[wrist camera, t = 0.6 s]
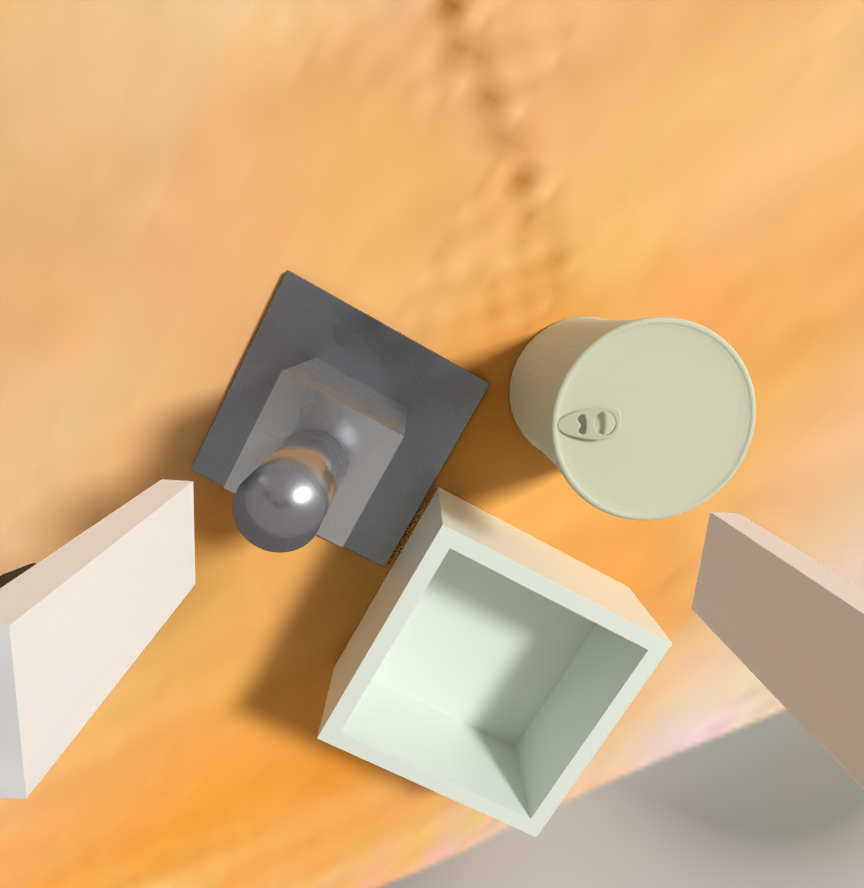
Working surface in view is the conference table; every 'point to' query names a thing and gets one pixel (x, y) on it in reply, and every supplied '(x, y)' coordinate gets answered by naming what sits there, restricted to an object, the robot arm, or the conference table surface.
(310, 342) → the stud plate
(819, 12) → the conference table surface
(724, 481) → the can
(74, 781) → the conference table surface
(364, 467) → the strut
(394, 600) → the bin
